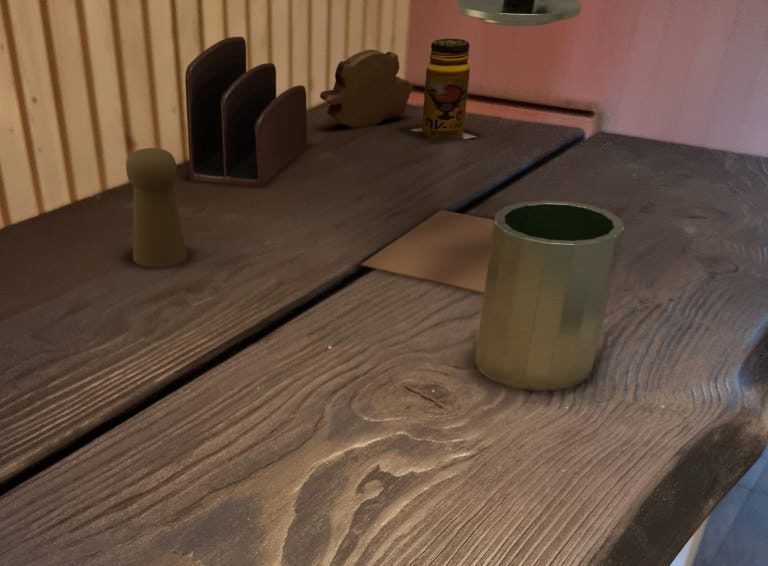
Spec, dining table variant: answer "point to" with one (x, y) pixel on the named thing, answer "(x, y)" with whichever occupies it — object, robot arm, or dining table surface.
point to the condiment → (446, 90)
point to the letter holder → (240, 118)
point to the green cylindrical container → (546, 293)
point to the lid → (519, 11)
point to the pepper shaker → (155, 209)
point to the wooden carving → (367, 89)
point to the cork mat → (441, 251)
